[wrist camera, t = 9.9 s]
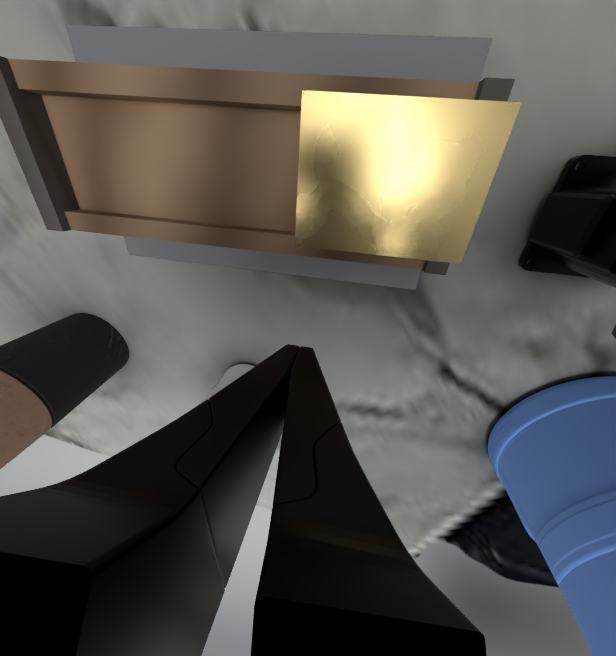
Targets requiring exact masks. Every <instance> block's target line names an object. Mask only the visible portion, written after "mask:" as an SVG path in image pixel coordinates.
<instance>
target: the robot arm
mask: <svg viewBox="0 0 616 656" xmlns="http://www.w3.org/2000/svg"><path fill="white" fill-rule="evenodd" d="M580 161H581V167H580V168H579V169H578V170H576V169H575V167H576V165H577V163H578V162H580ZM529 239H530V240H529V242H528V244H527V246H526V248H525V250H524V252H523V254H522V256H521V258H520V260H519V266H520V267H521V268H522V269H524V270H527V271H536V272H545V273H554V274H563V275H572V276H581V277H590V278H593V279H595V280H598V281H600V282H603V283H605V284H608V285H610V286H612V287H615V288H616V157H609V156H595V155H581V156H576V157H574V158H572V159H571V160H570V161H569V162H568V164H567V165H566V167H565V169H564V171H563V173H562V175H561V177H560V179H559V181H558V183H557V185H556V187H555V189H554V191H553V193H552V195H550V196H549V197H548V199H547V201H546V204H545V206H544V208H543V210H542V212H541V214H540V216H539V218H538V220H537V222H536V224H535V226H534V228H533V230H532V232H531V234H530V236H529ZM531 259H532V261H531V263H530V264H529V265H526V263H527V262H528V261H529V260H531ZM612 335H613V336H614V337H615V338H616V325H615V327H614V330H613V332H612ZM282 431H283V433H282ZM281 434H282V440H281V448H280V455H279V463H278V470H277V477H276V485H275V492H274V500H273V509H272V515H271V522H270V528H269V535H268V541H267V546H266V551H265V556H264V561H263V566H262V572H261V576H260V581H259V586H258V591H257V595H256V600H255V606H254V619H253V633H252V647H251V656H486V645H485V638H484V635H483V634H482V633H481V632H480V631H479V630H478V629H477V628H476V627H475V626H474V625H473V624H472V623H471V622H470V621H469V620H468V619H467V618H466V617H465V615H464V614H462V612H461V611H460V610H459V609H457V607H456V606H455V605H454V604H453V603H452V602H451V601H450V600H449V599H448V598H447V597H446V596H445V595H444V594H443V593H442V592H441V591H440V590H439V588H437V586H435V584H434V583H433V582H432V581H431V580H430V579H429V578H428V577H427V576H426V575H425V574H424V572H423V571H422V570H421V569H420V567H419V566H418V565H417V564H416V562H415V561H414V560H413V558H412V557H411V555H410V554H409V553H408V551H407V549H406V548H405V546H404V545H403V543H402V541H401V540H400V538H399V536H398V534H397V533H396V531H395V529H394V527H393V525H392V524H391V522H390V520H389V518H388V516H387V514H386V513H385V511H384V509H383V507H382V505H381V503H380V501H379V500H378V498H377V496H376V494H375V492H374V490H373V489H372V487H371V485H370V483H369V481H368V479H367V477H366V476H365V474H364V472H363V470H362V468H361V466H360V464H359V462H358V460H357V458H356V456H355V454H354V452H353V450H352V447H351V445H350V443H349V440H348V438H347V435H346V433H345V430H344V428H343V425H342V423H341V420H340V418H339V415H338V412H337V410H336V407H335V405H334V402H333V399H332V397H331V394H330V392H329V389H328V386H327V384H326V381H325V378H324V376H323V373H322V371H321V368H320V365H319V363H318V360H317V358H316V355H315V352H314V350H313V348H310V347H303V346H302V347H299V346H296V345H289V344H288V345H286V346H284V347H283V348H281V349H280V350H278V351H277V352H275V353H274V354H272V355H271V356H270V357H268V358H267V359H265V360H264V361H262V362H261V363H259V364H258V365H256V366H255V367H253V368H252V369H251V370H249V371H248V372H246V373H245V374H243V375H242V376H240V377H239V378H237V379H236V380H235V381H233V382H232V383H230V384H229V385H227V386H226V387H224V388H223V389H221V390H220V391H218V392H217V393H216V394H214V395H213V396H211V397H210V398H209V400H208V399H207V400H205V401H204V402H202V403H201V404H199V405H198V406H196V407H195V408H193V409H192V410H190V411H189V412H187V413H186V414H184V415H183V416H181V417H180V418H178V419H176V420H175V421H173V422H171V423H170V424H168V425H166V426H165V427H163V428H161V429H160V430H158V431H156V432H155V433H153V434H151V435H149V436H148V437H146V438H144V439H142V440H141V441H139V442H137V443H135V444H133V445H132V446H130V447H128V448H126V449H125V450H123V451H121V452H119V453H118V454H116V455H114V456H112V457H111V458H109V459H107V460H106V461H104V462H102V463H100V464H98V465H97V466H95V467H93V468H91V469H89V470H87V471H86V472H83V473H82V474H79V475H77V476H75V477H72V478H70V479H68V480H65V481H63V482H60V483H58V484H54V485H51V486H47V487H44V488H39V489H35V490H30V491H25V492H21V493H16V494H11V495H6V496H1V497H0V656H201V655H202V652H203V649H204V646H205V643H206V641H207V638H208V635H209V633H210V630H211V627H212V624H213V622H214V619H215V616H216V613H217V610H218V608H219V605H220V602H221V600H222V597H223V594H224V591H225V589H224V588H225V587H226V585H227V583H228V580H229V577H230V574H231V572H232V569H233V566H234V563H235V561H236V558H237V555H238V552H239V550H240V547H241V544H242V541H243V538H244V536H245V533H246V530H247V528H248V525H249V522H250V519H251V516H252V513H253V511H254V508H255V505H256V503H257V500H258V497H259V494H260V492H261V489H262V486H263V483H264V481H265V478H266V475H267V472H268V470H269V467H270V464H271V461H272V459H273V456H274V453H275V450H276V448H277V445H278V442H279V439H280V436H281Z"/></svg>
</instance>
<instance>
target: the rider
mask: <svg viewBox="0 0 616 656" xmlns="http://www.w3.org/2000/svg"><path fill="white" fill-rule="evenodd" d="M521 104H522V102H505V101H487V100H469V99H451V98H433V97H416V96H398V95H380V94H362V93H344V92H326V91H308V90H302V102H301V123H300V144H299V166H298V187H297V208H296V229H295V246H301V247H310V248H319V249H328V250H337V251H346V252H356V253H365V254H374V255H383V256H392V257H401V258H410V259H419V260H428V261H437V262H446V263H455V264H461V263H462V260H463V257H464V255H465V252H466V250H467V247H468V244H469V242H470V239H471V236H472V234H473V231H474V228H475V226H476V223H477V221H478V218H479V215H480V213H481V210H482V207H483V205H484V202H485V199H486V197H487V194H488V191H489V189H490V186H491V184H492V181H493V178H494V176H495V173H496V170H497V168H498V165H499V162H500V160H501V157H502V155H503V152H504V149H505V147H506V144H507V141H508V139H509V136H510V133H511V131H512V128H513V126H514V123H515V120H516V118H517V115H518V112H519V110H520V107H521Z"/></svg>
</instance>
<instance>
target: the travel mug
mask: <svg viewBox="0 0 616 656" xmlns="http://www.w3.org/2000/svg"><path fill="white" fill-rule="evenodd" d="M128 356H129V352H128V348H127V345H126V343H125V341H124V339H123V338H122V336H121V335H120V334H119V333H118V332H117V330H116V329H114V328H113V327H112V326H111V325H110V324H108V323H107V322H106V321H104V320H102V319H100V318H98V317H96V316H93V315H90V314H84V313H80V314H74V315H71V316H69V317H66V318H64V319H61V320H59V321H57V322H54V323H52V324H50V325H47V326H45V327H43V328H40V329H38V330H36V331H34V332H31V333H29V334H27V335H24V336H22V337H20V338H17V339H15V340H13V341H11V342H8V343H6V344H4V345H1V346H0V469H1V468H2V467H4V466H5V465H6V464H7V463H9V462H10V461H11V460H12V459H14V458H15V457H16V456H17V455H19V454H20V453H21V452H22V451H24V450H25V449H26V448H27V447H29V446H30V445H31V444H32V443H33V442H35V441H36V440H37V439H38V438H40V437H41V436H42V435H43V434H45V433H46V432H47V431H48V430H49V429H50V428H52V427H53V426H54V425H55V424H57V423H58V422H59V421H60V420H61V419H62V418H64V417H65V416H66V415H67V414H68V413H69V412H71V411H72V410H73V409H74V408H75V407H76V406H78V405H79V404H80V403H81V402H82V401H83V400H85V399H86V398H87V397H88V396H89V395H90V394H92V393H93V392H94V391H95V390H96V389H97V388H99V387H100V386H101V385H102V384H103V383H104V382H106V381H107V380H108V379H109V378H110V377H111V376H113V375H114V374H115V373H116V372H117V371H118V370H119V369H121V368H122V367H123V366H124V365H125V364H126V362H127V360H128Z"/></svg>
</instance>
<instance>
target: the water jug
mask: <svg viewBox="0 0 616 656" xmlns="http://www.w3.org/2000/svg"><path fill="white" fill-rule="evenodd" d="M488 455H489V459H490V462H491V464H492V466H493V468H494V470H495V472H496V474H497V476H498V478H499V480H500V481H501V483H502V484H503V485H504V487H505V489H506V491H507V493H508V495H509V497H510V499H511V501H512V503H513V505H514V507H515V509H516V511H517V513H518V515H519V517H520V519H521V521H522V523H523V525H524V527H525V529H526V531H527V532H528V534H529V535H530V536H531V538H532V539H533V540H534V541H535V542H536V543H537V544H538V546H539V548H540V550H541V552H542V554H543V556H544V558H545V560H546V562H547V564H548V566H549V568H550V570H551V572H552V574H553V576H554V578H555V580H556V582H557V584H558V585H559V587H560V589H561V591H562V593H563V595H564V597H565V599H566V601H567V603H568V605H569V607H570V609H571V611H572V613H573V615H574V617H575V619H576V621H577V623H578V625H579V627H580V628H581V631H582V633H583V634H584V636H585V639H586V641H587V643H588V645H589V648H590V650H591V653H592V655H593V656H616V376H603V377H593V378H586V379H580V380H575V381H570V382H566V383H562V384H559V385H556V386H553V387H550V388H547V389H545V390H542V391H540V392H538V393H535V394H533V395H531V396H529V397H527V398H526V399H524V400H522V401H521V402H519V403H518V404H516V405H515V406H513V407H512V408H511V409H510V410H508V411H507V412H506V413H505V414H504V415H503V416H502V417H501V418H500V419H499V421H498V422H497V423H496V425H495V426H494V428H493V430H492V432H491V434H490V437H489V441H488Z"/></svg>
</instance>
